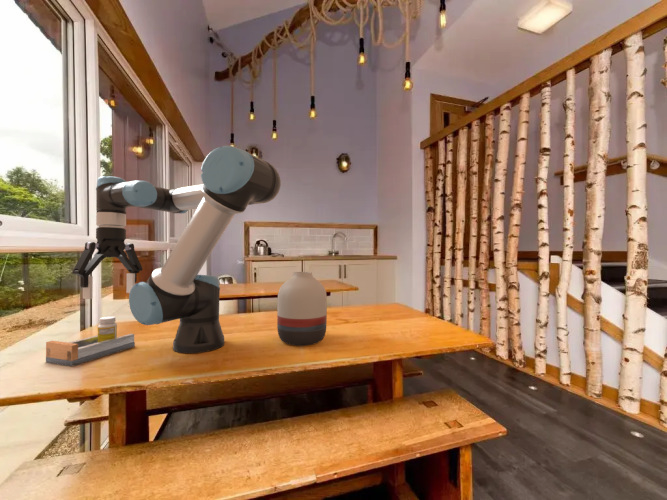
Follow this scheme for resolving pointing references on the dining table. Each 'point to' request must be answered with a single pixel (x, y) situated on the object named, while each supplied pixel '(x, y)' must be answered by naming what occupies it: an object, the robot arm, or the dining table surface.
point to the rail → (85, 349)
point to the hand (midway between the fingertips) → (110, 295)
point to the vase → (302, 310)
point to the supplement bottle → (107, 328)
